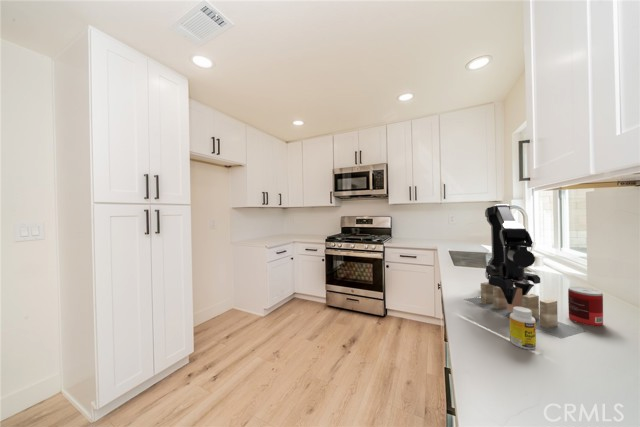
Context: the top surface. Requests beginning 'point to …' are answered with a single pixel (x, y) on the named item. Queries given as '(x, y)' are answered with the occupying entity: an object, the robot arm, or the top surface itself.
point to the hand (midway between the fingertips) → (514, 303)
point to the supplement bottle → (522, 328)
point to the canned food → (585, 306)
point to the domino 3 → (516, 300)
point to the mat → (557, 331)
